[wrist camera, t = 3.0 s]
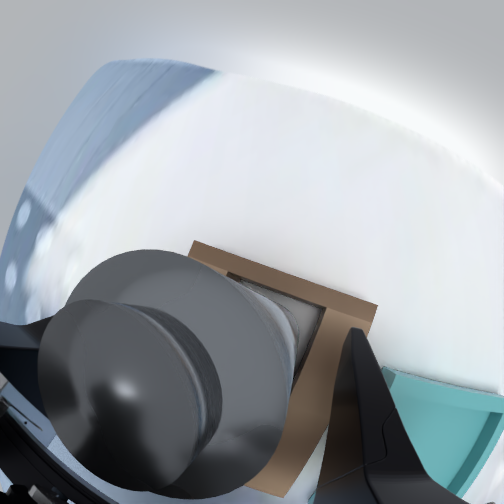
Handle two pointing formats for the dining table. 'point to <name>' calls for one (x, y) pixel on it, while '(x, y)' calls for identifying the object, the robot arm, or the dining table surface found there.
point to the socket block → (311, 368)
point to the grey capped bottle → (168, 375)
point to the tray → (447, 426)
